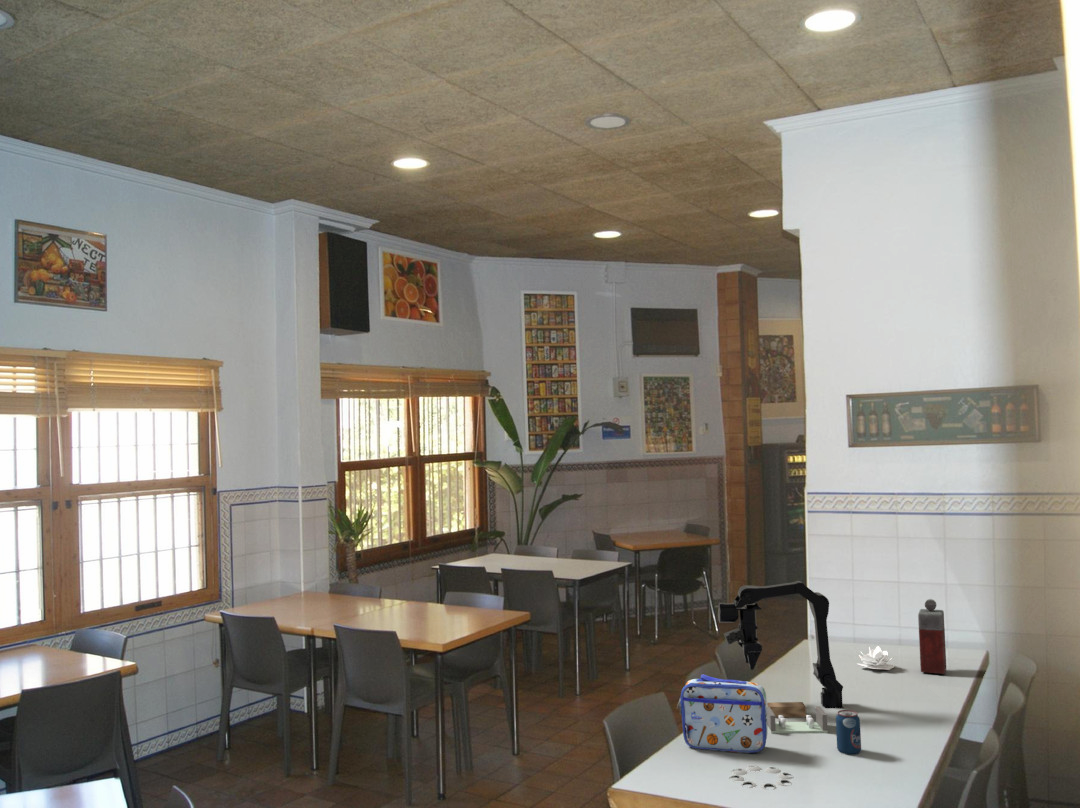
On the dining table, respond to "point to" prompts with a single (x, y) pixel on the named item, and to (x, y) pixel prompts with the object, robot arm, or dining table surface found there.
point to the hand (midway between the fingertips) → (749, 666)
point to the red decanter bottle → (932, 639)
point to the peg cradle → (798, 723)
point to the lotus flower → (876, 659)
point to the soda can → (848, 732)
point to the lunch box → (724, 715)
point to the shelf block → (788, 709)
